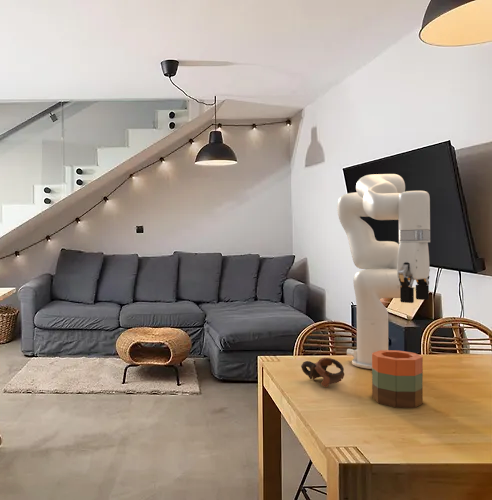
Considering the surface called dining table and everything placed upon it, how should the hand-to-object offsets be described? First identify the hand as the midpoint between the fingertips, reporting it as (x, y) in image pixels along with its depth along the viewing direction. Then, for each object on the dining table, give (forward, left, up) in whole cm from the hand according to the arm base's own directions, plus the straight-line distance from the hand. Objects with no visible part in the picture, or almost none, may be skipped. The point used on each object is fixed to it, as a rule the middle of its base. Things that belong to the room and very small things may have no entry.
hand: (414, 301), depth 143 cm
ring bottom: (-1, -9, -25) cm, 27 cm away
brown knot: (-23, -8, -25) cm, 35 cm away
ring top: (-1, -9, -17) cm, 19 cm away
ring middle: (-1, -9, -21) cm, 23 cm away
